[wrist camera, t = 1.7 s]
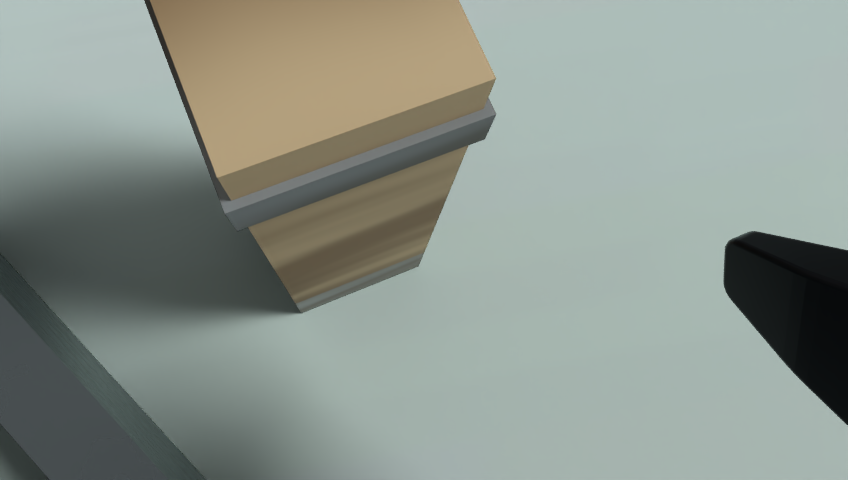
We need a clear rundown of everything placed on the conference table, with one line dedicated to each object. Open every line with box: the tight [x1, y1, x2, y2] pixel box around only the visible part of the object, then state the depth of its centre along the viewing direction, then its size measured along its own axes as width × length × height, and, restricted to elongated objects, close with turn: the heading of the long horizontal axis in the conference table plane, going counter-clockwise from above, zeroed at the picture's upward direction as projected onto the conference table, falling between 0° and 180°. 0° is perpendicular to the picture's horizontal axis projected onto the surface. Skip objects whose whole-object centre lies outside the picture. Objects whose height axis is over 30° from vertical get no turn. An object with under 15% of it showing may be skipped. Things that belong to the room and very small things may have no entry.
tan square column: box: [144, 0, 496, 313], centre depth 16 cm, size 4×4×13 cm
